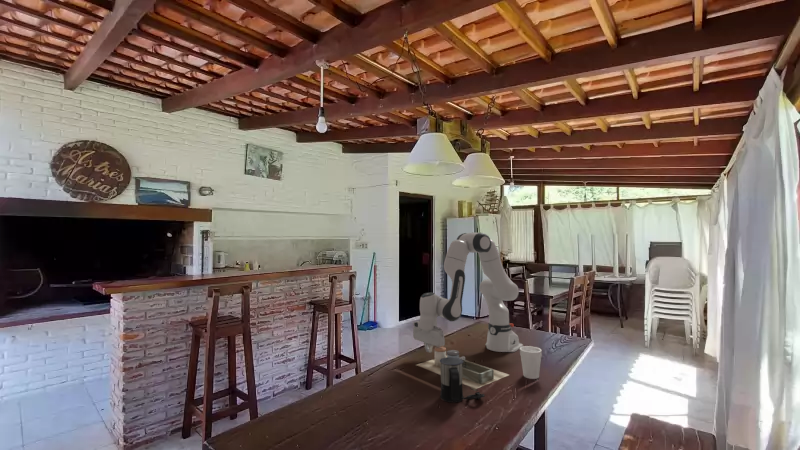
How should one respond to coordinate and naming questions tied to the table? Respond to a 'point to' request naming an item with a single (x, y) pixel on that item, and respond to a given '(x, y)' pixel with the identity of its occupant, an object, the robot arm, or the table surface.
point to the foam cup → (531, 361)
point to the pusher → (463, 361)
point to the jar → (439, 354)
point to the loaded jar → (453, 353)
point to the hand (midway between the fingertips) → (428, 351)
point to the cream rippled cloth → (470, 373)
